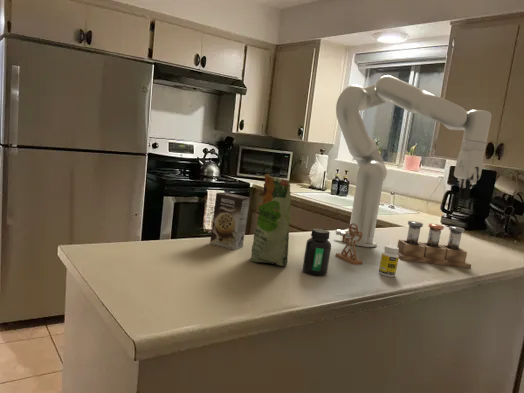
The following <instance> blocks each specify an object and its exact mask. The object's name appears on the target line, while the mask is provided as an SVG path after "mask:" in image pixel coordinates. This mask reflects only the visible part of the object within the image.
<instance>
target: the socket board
mask: <svg viewBox="0 0 524 393" xmlns="http://www.w3.org/2000/svg"><path fill="white" fill-rule="evenodd" d="M406 241H407V239H398V242H397V246H396V247H398V248H399V252H398V253H397V254H398V255H399V258H398V260H401V261H410V262H416V263H417V262H418V263H425V264H426V263H427V264H435V265H440V266H441V265H443V266H451V267H459V268H465V269H466V268H467V269H471V268H472V264H471V263H469V262H468V261H466V260H467V256H468V255H467V254H468V251H467V250H465V249H462V248H461V247H459V250H453V249H448V248H447V245H448V244H439V245H438V248H436V247H429V246H427V242H423V241H422V242H421V241H418V244H417V245H412V244H407V243H406Z"/></svg>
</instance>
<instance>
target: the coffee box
mask: <svg viewBox="0 0 524 393" xmlns="http://www.w3.org/2000/svg"><path fill="white" fill-rule="evenodd" d="M250 201H251V197H249V196H243V195H239V194H236V193H235V194H234V193H229V192H226V191H225V192H218V193H215V201H214V209H213V217H212V225H211V234H210V240H209V244H210V245H213V246H218V247H222V248H225V249H229V250H234V251H236V250H239V249H241V248H242V247H244V241H245V235H246V227H247V220H248V214H249V207H250Z"/></svg>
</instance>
